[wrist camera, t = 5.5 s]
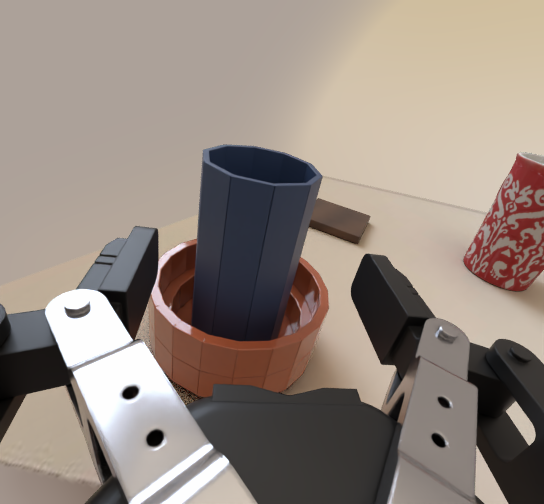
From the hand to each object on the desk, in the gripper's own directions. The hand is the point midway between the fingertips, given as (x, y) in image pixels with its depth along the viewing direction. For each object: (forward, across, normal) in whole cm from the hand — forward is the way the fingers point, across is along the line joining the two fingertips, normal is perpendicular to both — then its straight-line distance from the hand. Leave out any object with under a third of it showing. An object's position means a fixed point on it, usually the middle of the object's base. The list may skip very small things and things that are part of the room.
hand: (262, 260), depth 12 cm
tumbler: (+6, 0, +10) cm, 12 cm away
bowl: (+6, 0, +10) cm, 12 cm away
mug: (+20, -32, +11) cm, 40 cm away
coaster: (+27, -13, +11) cm, 32 cm away
